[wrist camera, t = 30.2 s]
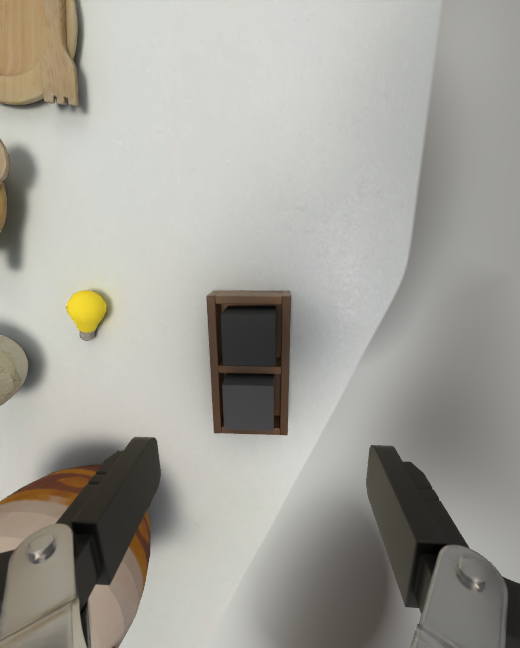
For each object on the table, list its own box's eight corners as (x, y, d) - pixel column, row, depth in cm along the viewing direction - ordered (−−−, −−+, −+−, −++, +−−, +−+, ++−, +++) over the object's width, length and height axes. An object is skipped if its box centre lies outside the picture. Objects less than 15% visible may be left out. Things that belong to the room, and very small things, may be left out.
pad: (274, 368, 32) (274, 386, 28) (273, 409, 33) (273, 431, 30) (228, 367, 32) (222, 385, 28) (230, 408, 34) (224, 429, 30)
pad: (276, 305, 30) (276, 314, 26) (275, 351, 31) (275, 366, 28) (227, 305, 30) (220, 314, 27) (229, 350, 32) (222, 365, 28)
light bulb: (110, 287, 31) (100, 306, 28) (108, 331, 34) (99, 352, 31) (73, 281, 30) (60, 299, 27) (75, 327, 33) (63, 347, 30)
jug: (206, 462, 36) (-58, 1298, 8) (171, 560, 41) (-73, 1296, 13) (53, 411, 36) (-890, 1131, 7) (35, 517, 41) (-559, 1198, 12)
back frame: (289, 290, 30) (290, 296, 27) (286, 419, 34) (287, 435, 31) (213, 290, 31) (206, 295, 28) (219, 417, 35) (213, 433, 32)
